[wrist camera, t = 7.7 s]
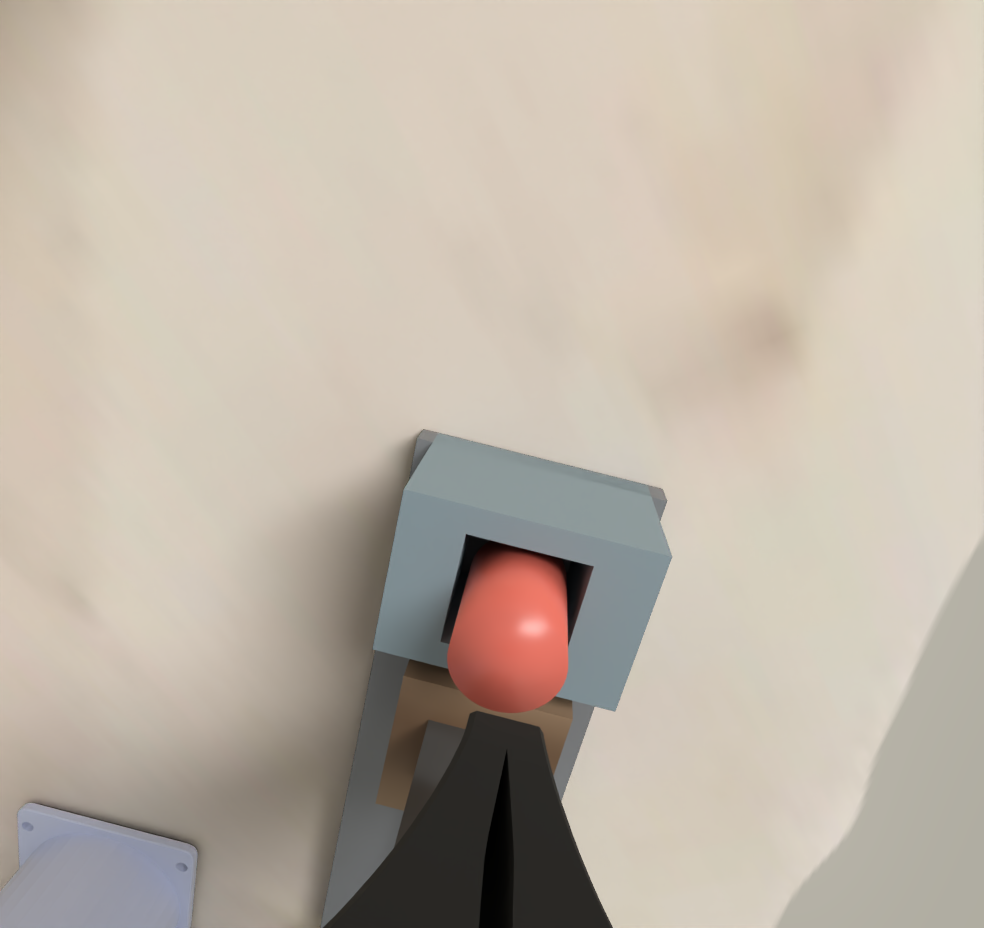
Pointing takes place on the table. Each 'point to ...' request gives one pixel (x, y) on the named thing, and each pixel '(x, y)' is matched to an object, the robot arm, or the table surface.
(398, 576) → the rail bed
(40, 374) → the table surface
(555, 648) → the plunger
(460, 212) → the table surface
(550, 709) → the carriage
